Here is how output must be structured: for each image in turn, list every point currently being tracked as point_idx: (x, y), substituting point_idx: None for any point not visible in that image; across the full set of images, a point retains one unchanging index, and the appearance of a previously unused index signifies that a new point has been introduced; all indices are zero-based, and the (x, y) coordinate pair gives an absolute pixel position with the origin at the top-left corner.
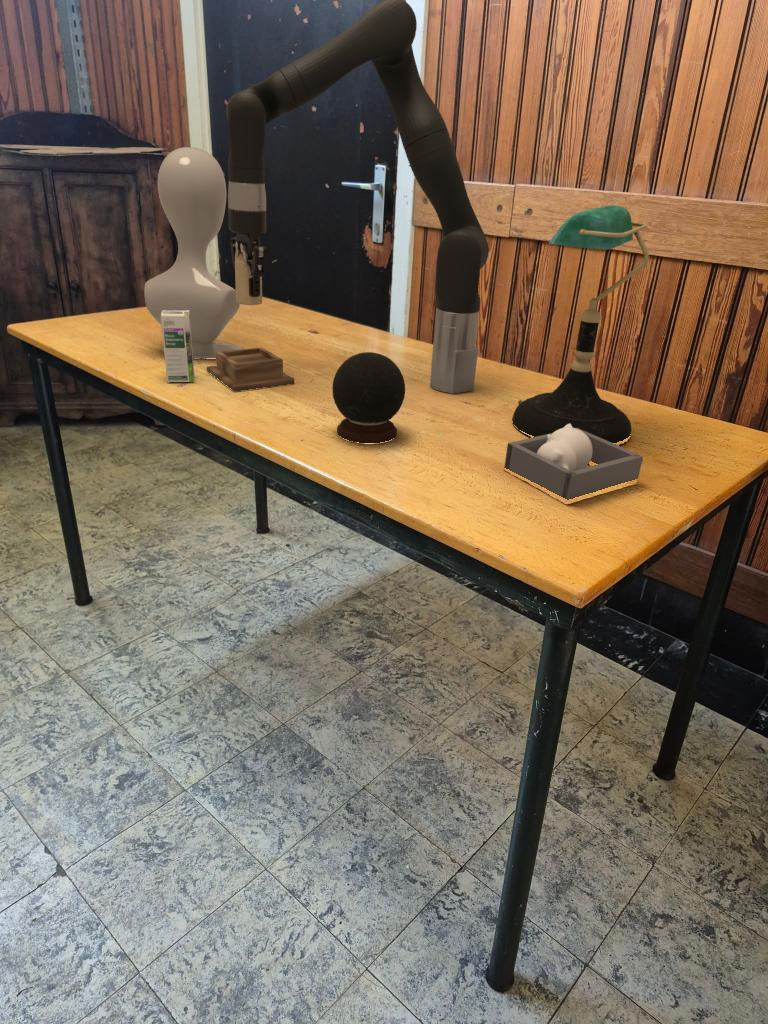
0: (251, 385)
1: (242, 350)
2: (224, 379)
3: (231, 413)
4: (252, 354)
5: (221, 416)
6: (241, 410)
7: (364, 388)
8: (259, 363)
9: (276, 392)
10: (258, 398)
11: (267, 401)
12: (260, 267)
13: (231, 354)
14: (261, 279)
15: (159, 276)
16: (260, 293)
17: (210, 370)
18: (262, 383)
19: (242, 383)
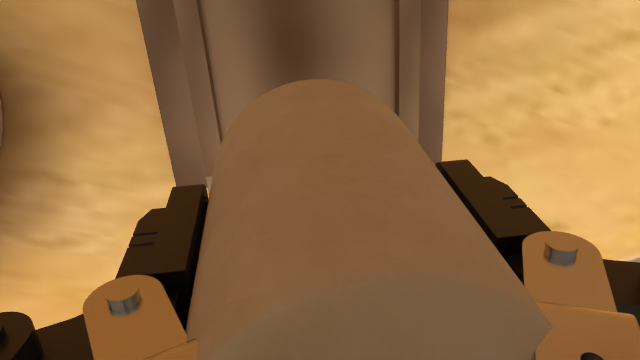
0: (442, 100)
1: (209, 82)
2: None
3: (599, 209)
4: (214, 30)
5: (604, 236)
6: (594, 179)
7: None
8: (418, 69)
9: (502, 20)
10: (527, 101)
11: (568, 84)
12: (615, 309)
13: (220, 131)
14: (433, 175)
15: None
16: (416, 140)
17: None
18: (445, 58)
19: (421, 128)
